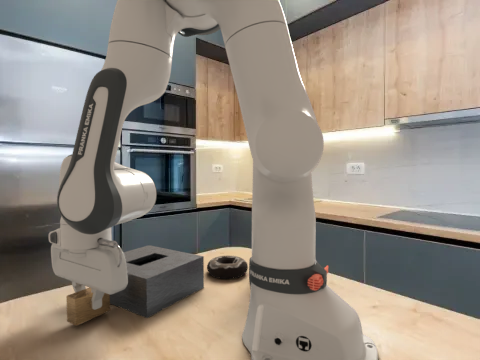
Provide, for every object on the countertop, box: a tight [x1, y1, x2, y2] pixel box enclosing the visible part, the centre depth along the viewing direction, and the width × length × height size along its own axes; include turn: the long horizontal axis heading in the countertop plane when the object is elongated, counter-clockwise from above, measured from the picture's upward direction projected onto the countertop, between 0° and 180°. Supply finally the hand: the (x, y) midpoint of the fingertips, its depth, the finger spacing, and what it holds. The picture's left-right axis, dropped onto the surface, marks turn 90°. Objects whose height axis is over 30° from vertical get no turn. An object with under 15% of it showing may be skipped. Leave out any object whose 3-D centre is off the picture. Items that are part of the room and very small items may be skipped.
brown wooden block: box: [66, 287, 111, 327], centre depth 59 cm, size 3×7×5 cm, turn 148°
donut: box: [206, 255, 249, 280], centre depth 86 cm, size 12×12×4 cm
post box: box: [88, 244, 205, 319], centre depth 73 cm, size 20×18×8 cm
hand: (89, 305), depth 59 cm, fingers closed on brown wooden block, 3 cm apart
